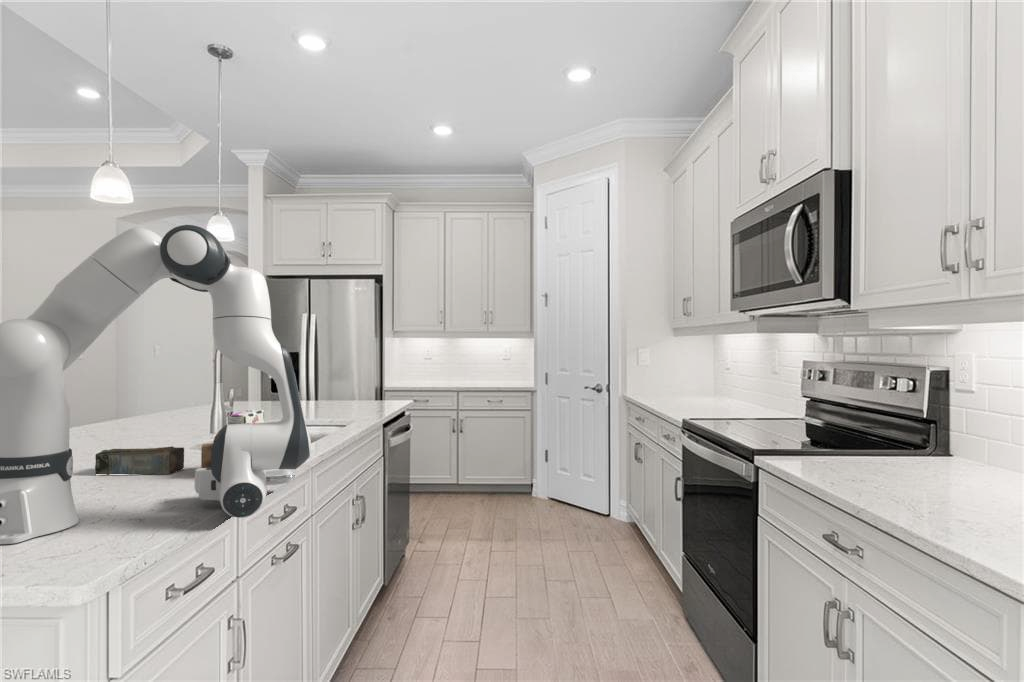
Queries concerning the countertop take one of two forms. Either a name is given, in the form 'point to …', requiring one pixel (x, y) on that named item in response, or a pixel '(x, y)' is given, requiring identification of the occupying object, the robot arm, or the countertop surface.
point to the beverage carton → (140, 461)
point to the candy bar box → (247, 419)
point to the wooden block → (206, 455)
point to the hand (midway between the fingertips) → (245, 468)
